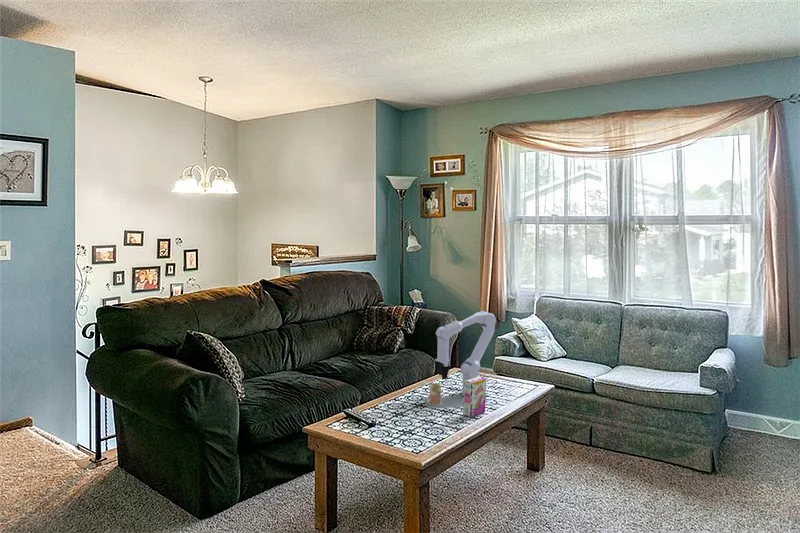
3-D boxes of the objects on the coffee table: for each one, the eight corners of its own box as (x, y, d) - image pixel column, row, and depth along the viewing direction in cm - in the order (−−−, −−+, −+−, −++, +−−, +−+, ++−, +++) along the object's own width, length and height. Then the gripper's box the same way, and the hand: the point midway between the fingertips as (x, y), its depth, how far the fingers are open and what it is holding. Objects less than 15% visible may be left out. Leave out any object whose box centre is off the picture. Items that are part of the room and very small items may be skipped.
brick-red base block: (438, 400, 276) (438, 392, 275) (440, 403, 271) (440, 394, 271) (429, 401, 275) (429, 392, 274) (431, 404, 270) (431, 395, 270)
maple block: (438, 392, 275) (438, 383, 275) (440, 394, 271) (440, 385, 270) (429, 392, 275) (430, 383, 274) (431, 395, 270) (431, 386, 270)
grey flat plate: (460, 396, 283) (460, 396, 283) (468, 406, 267) (468, 406, 267) (421, 398, 280) (421, 397, 280) (428, 408, 264) (428, 408, 264)
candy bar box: (471, 418, 252) (471, 382, 251) (462, 415, 255) (463, 380, 254) (486, 412, 260) (486, 378, 258) (477, 409, 263) (478, 376, 262)
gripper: (432, 347, 287) (432, 373, 288) (438, 354, 273) (438, 381, 274) (445, 347, 289) (445, 372, 290) (452, 353, 274) (451, 380, 275)
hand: (442, 376), depth 282 cm, fingers open, 7 cm apart
